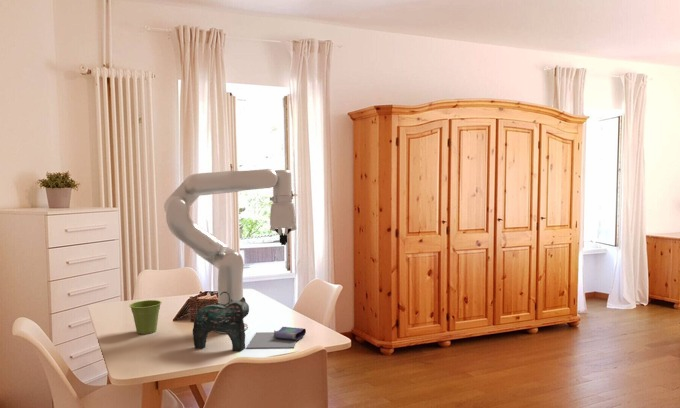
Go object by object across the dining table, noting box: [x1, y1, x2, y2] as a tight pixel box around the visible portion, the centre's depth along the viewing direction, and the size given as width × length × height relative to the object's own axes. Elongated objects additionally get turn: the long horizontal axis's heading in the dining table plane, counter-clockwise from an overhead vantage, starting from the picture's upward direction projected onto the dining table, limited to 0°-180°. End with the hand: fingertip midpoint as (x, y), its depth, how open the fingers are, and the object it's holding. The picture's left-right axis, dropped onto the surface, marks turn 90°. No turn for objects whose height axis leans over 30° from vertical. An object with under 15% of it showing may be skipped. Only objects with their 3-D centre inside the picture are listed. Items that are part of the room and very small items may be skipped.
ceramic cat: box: [192, 292, 250, 352], centre depth 173 cm, size 20×6×20 cm, turn 77°
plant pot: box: [129, 299, 162, 335], centre depth 196 cm, size 12×12×11 cm
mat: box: [245, 331, 298, 350], centre depth 182 cm, size 16×18×1 cm
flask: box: [273, 326, 307, 341], centre depth 184 cm, size 9×3×11 cm
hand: (283, 244), depth 206 cm, fingers closed
